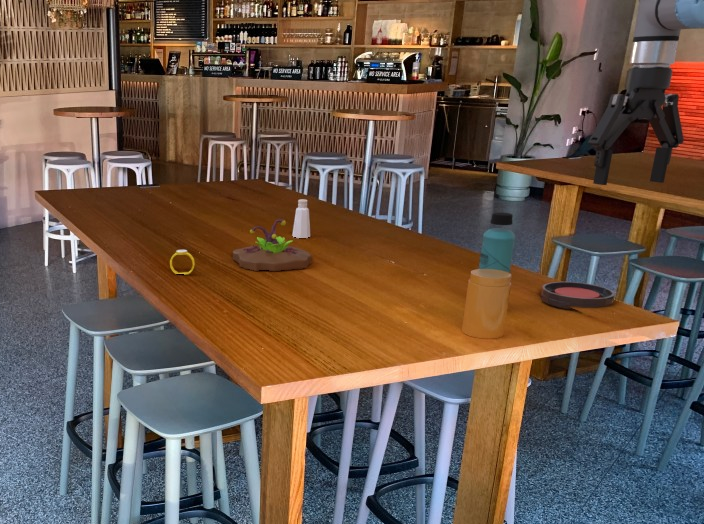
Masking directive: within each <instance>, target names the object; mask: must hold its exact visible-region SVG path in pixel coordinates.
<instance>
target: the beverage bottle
mask: <svg viewBox="0 0 704 524" xmlns="http://www.w3.org/2000/svg"><path fill="white" fill-rule="evenodd" d="M513 215H514V214H513V213H509V212H504V211H503V212H501V211H500V212H493V213H492V215H491V219H490V224H491V225H497V226H511V225H513V217H514V216H513ZM515 240H516V234H515V233H514V232H513V231H512V230H511V229H509V228H503V227H493V228H492V227H491V228H489V229H487V230H486V231H485V232H484V233H483V234H482V244H481V248H480V255H479V261H478V262H479V263H478V269H495V270H501V271H505V272H508V273H510V274H511V267H512V262H513V261H512V260H513V253H514V247H515V243H516V241H515Z"/></svg>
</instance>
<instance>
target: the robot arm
mask: <svg viewBox="0 0 704 524" xmlns="http://www.w3.org/2000/svg"><path fill="white" fill-rule="evenodd" d="M634 24H635V25H634V29H633V30H634V31H633V37H632V43H631V48H630V49H631V50H630V54H629V59H628V65H630V66H631V68H628V70H626V75H625V79H624V80H625V82H624V88H625V89H626V93H625V94H623V93H622V94H618V93H617V94H616V93H614V94H613V93H612V94H611V95H610V97H609V100H608V104H607V107H606V109H605V111H604V113H603V114H602V116H601V118H600V120H599V121H598V123H597V125H596V127H595V128H594V131H593V132H592V134H591V136H590V137H589V140H588V142H587V145H588V146H591V147H592V148H593V149H596V150H595V158H594V162H593V165H594V167H595V171H594V177H593V182H592V184H594V185H600V186H607V185H608V180H609V174H610V169H611V168H610V167H611V164H612V157H613V151H614V150H613V149H610V148H611V147H612V145H614V144H615V142H616V141H617V139H618V138H619V137H620V136H621V135H622V134H623V133H624V131H625V130H626V129H627V128H628V126H629V125H630V124H631V123H633V122H635V120H646V121H648V122H649V124H650V126H651V129H652V131H653V133H654V134H655V137H656V139H657V141H658V143H659V145H660V146H657V147H656V148H655V152H654V158H653V161H652V166H651V167H652V168H651V173H650V178H649V182H652V183H659V184H660V183H665V178H666V173H667V168H668V165H669V164H670V162H671V157H672V153H673V149H677V148H678V147H679V145H682V144H683V143H684V140H685V139H684V133H683V129H682V122H681V117H680V112H679V110H680V109H679V98H680V96H679V94H678V93H666V90H667V89H669V88H670V86H671V81H672V77H673V68H672V67H671V65H674V64H675V62H676V56H677V50H678V45H679V41H680V35H681V31H682V30H693V29H695V30H697V29H701V30H703V29H704V0H638V6H637V13H636V18H635V23H634Z"/></svg>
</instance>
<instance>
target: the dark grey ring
mask: <svg viewBox="0 0 704 524" xmlns="http://www.w3.org/2000/svg"><path fill="white" fill-rule="evenodd" d="M564 287H574V288H583V289H588V290H592V291H595V292H597V293H599V295H600V296H599V298H577V297H569V296H564V295H559V294H556V293H554V292H555V289H557V288H564ZM615 296H616V293H615V292H614V291H613V290H612V289H609V288H607V287H605V286H601V285H597V284H592V283H586V282H578V281H553V282H548V283H544V284H543V285H542V286H541V291H540V297H539V298H540V300H541V301H542V302H544V303H546V304H547V305H549V306H552V307H555V308H558V309H563V310H567V311H572V312H573V311H575V312H579V310H578V309H576V308H573V307H577V308H591V309H592V308H606V307H609V306H611V305H613V303H614V301H615Z"/></svg>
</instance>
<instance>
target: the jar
mask: <svg viewBox="0 0 704 524" xmlns="http://www.w3.org/2000/svg"><path fill="white" fill-rule="evenodd" d="M512 279H513V277H512V273H511V272H510V273H508V272H505V271H501V270H495V269H479V268H476V269H473V270H471V271H470V274H469V279H468V281H467V286H466V287H467V288H466V296H465V303H464V309H463V310H464V311H463V319H462V325H461V332H462V333H463V334H465V335H466V336H469V337H472V338H476V339H485V340H486V339H487V340H493V339H499V338H502V337H503V336H504V333H505V328H506V321H507V314H508V308H509V303H510V302H509V301H510V296H511V288H512V282H511V280H512Z"/></svg>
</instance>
